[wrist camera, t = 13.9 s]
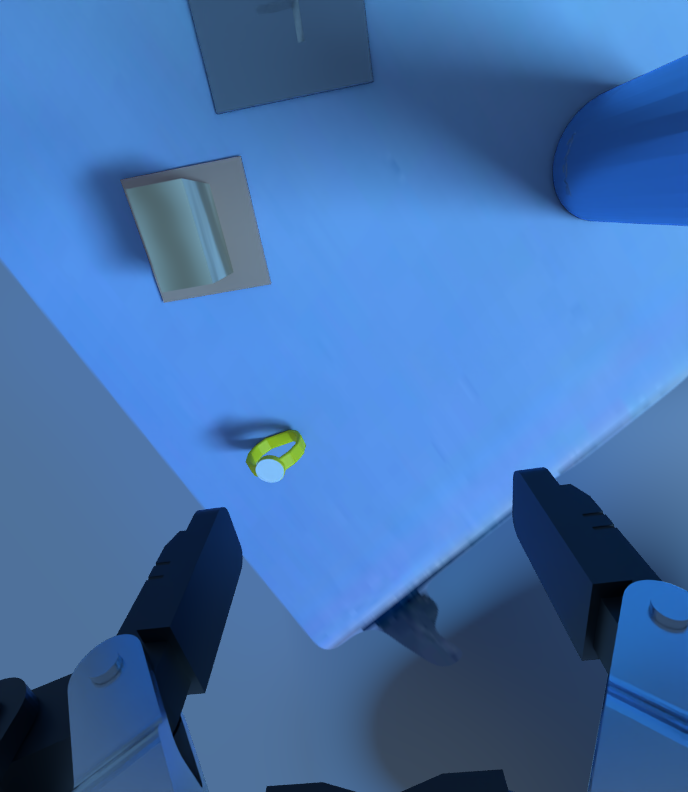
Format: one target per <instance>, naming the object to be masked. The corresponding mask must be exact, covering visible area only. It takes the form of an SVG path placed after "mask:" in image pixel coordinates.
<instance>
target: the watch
mask: <svg viewBox="0 0 688 792" xmlns="http://www.w3.org/2000/svg"><path fill="white" fill-rule="evenodd" d="M292 441H295V442H296V444H295V445H294V446H293V447H292V448H291V449H290V450H289V451H288V452H287V453H285V454H284V455H282V456H281V457H279V458H278V457H276V456H272V455H267V456H264V457H262V456H263V455H264V454H265V453H267V452H268V451H270V450H271V449H273V448H275V447H278V446H281V445H284V444H287V443H290V442H292ZM305 447H306V444H305V442H304V440H303V438H302V436H301V435H300V433H299V432H298V431H295V430H287V431H285V432H282V433H279V434H276V435H274V436H271V437H268V438H267V437H266V438H265V439H263V440H262V441H261V442H259V443H258V444H256V446H254V447H253V449H252V450H251V451H250V452H249V454H248V456H247V459H246V463H247V465H248V467H249V468H250V470H251V472H252V473H253V474H254V475H255V476H257V477H259V478H260V479H262V480H263V481H266V482H271V483H273V482H277V481H279V480H281V479H282V478H283V476H284V474H285V471H286V469H288V468H289V467H291V466H292V465H294V464H295V463H296V462H297V461H298V460H299V459H300V457H301V456H302V455H303V454H304V451H305ZM261 457H262V458H261ZM259 459H260V460H259ZM257 462H258V463H257ZM256 463H257V465H256Z"/></svg>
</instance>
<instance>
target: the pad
mask: <svg viewBox="0 0 688 792" xmlns="http://www.w3.org/2000/svg"><path fill="white" fill-rule="evenodd" d="M181 178H182V179H187V180H192V181H197V182H202V183H208V184H210V188H211V192H212V195H213V199H214V203H215V206H216V210H217V213H218V217H219V221H220V224H221V228H222V232H223V235H224V239H225V243H226V246H227V250H228V254H229V257H230V261H231V264H232V268H233V273H232V274H230V275H228V276H226V277H224V278H222V279H221V280H219V281H217V282H215V283H213V284H208V285H202V286H197V287H191V288H185V289H180V290H174V291H168V292H163V293H162V291H161V288H160V285H159V282H158V280H157V277H156V274H155V271H154V268H153V266H152V263H151V260H150V257H149V254H148V251H147V249H146V246H145V243H144V240H143V237H142V235H141V232H140V229H139V226H138V223H137V220H136V218H135V215H134V212H133V209H132V206H131V204H130V201H129V198H128V195H127V192H126V189H131V188H136V187H141V186H146V185H151V184H156V183H161V182H166V181H171V180H176V179H181ZM120 181H121V183H122V186H123V189H124V192H125V195H126V197H127V200H128V203H129V206H130V209H131V212H132V214H133V217H134V220H135V223H136V226H137V228H138V231H139V234H140V237H141V240H142V242H143V245H144V248H145V251H146V254H147V256H148V259H149V262H150V265H151V268H152V270H153V273H154V276H155V279H156V282H157V285H158V287H159V290H160V293H161V296H162V299H163V301H164V303H165V302H170V301H176V300H182V299H188V298H194V297H199V296H205V295H211V294H217V293H222V292H228V291H234V290H240V289H245V288H251V287H257V286H263V285H269V284H271V281H270V277H269V272H268V268H267V264H266V260H265V256H264V251H263V247H262V243H261V239H260V235H259V230H258V226H257V222H256V218H255V214H254V209H253V205H252V201H251V197H250V193H249V188H248V184H247V180H246V176H245V172H244V167H243V163H242V159H241V156H237V157H232V158H227V159H222V160H217V161H212V162H207V163H202V164H197V165H192V166H187V167H182V168H177V169H172V170H167V171H162V172H157V173H152V174H147V175H142V176H137V177H132V178H127V179H122V180H120Z"/></svg>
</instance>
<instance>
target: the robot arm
mask: <svg viewBox="0 0 688 792" xmlns="http://www.w3.org/2000/svg"><path fill="white" fill-rule="evenodd" d="M553 182H554V186H555V190H556V194H557V196H558V198H559V200H560V201H561V203H562V205H563V206H564V207H565V208H566V209H567V210H568V211H569V212H570V213H571V214H573V215H575V216H576V217H578V218H581V219H584V220H587V221H598V222H617V223H633V224H655V225H678V226H688V55H686V56H683V57H681V58H679V59H677V60H675V61H672V62H670V63H668V64H666V65H664V66H661V67H659V68H657V69H655V70H653V71H651V72H648V73H646V74H644V75H641V76H639V77H637V78H635V79H633V80H630V81H628V82H626V83H624V84H622V85H620V86H617V87H615V88H613V89H611V90H609V91H607V92H604V93H602V94H600V95H599V96H597V97H596V98H594V99H593V100H591V101H590V102H588V103H587V104H586V105H585V106H584V107H583V108H582V109H581V110H580V111H579V112H578V113H577V114H576V115H575V116H574V118H573V119H572V120H571V122H570V123H569V124H568V126H567V127H566V129H565V131H564V133H563V135H562V137H561V139H560V141H559V144H558V147H557V150H556V153H555V157H554V164H553ZM512 515H513V523H514V528H515V531H516V534H517V537H518V539H519V541H520V543H521V545H522V547H523V549H524V551H525V552H526V554H527V556H528V558H529V560H530V562H531V564H532V566H533V568H534V570H535V572H536V574H537V576H538V577H539V579H540V581H541V583H542V585H543V587H544V589H545V591H546V593H547V595H548V597H549V599H550V600H551V602H552V604H553V606H554V608H555V610H556V612H557V614H558V616H559V618H560V620H561V622H562V624H563V626H564V627H565V629H566V631H567V633H568V635H569V637H570V639H571V641H572V643H573V645H574V647H575V649H576V651H577V653H578V654H579V656H580V658H581V660H582V661H584V660H595V659H600V660H601V662H602V664H603V666H604V668H605V669H606V671H607V673H608V677H607V682H606V688H605V694H604V700H603V706H602V711H601V717H600V723H599V729H598V734H597V740H596V746H595V752H594V758H593V763H592V769H591V775H590V781H589V786H588V791H587V792H688V591H686V590H684V589H682V588H680V587H678V586H675V585H672V584H670V583H666V582H663V581H662V580H661V579H660V578H659V577H658V576H657V575H656V574H655V572H654V571H653V570H652V569H651V568H650V567H649V565H648V564H647V563H646V562H645V561H644V559H643V558H642V557H641V556H640V555H639V554H638V552H637V551H636V550H635V549H634V548H633V546H632V545H631V544H630V543H629V542H628V541H627V539H626V538H625V537H624V536H623V535H622V533H621V532H620V531H619V530H618V529H617V528H615V527H614V524H613V523H612V522H611V520H610V519H609V518H608V517H607V516H606V515H604V514H603V511H602V510H601V509H600V507H599V506H598V505H597V504H596V503H595V502H594V500H593V499H592V498H591V497H590V496H589V495H587V494H586V493H584V492H583V491H581V490H579V489H578V488H576V487H574V486H573V485H571V484H567V485H559V484H558V482H557V481H556V480H555V478H554V477H553V476H552V474H551V473H550V472H549V471H548V469H546V468H544V467H542V468H534V469H526V470H519V471H515V472H514V475H513V511H512ZM241 569H242V549H241V545H240V542H239V540H238V537H237V534H236V531H235V529H234V526H233V523H232V521H231V518H230V515H229V513H228V511H227V509H226V508H225V507H221V508H213V509H205V510H199V511H197V512H196V513H195V514H194V516H193V518H192V520H191V522H190V524H189V526H188V528H187V530H186V531H180V532H179V533H177V535H175V537H174V538H173V539H172V540H171V541H170V542H169V543H168V544H167V545H166V546H165V547H164V549H163V551H162V553H161V554H160V557H159V558H158V560H157V562H156V566H154V567H153V569H152V571H151V573H150V575H149V579H148V580H147V581H146V582H145V584H144V586H143V588H142V589H141V591H140V593H139V595H138V597H137V599H136V601H135V602H134V604H133V606H132V608H131V610H130V612H129V614H128V615H127V618H126V619H125V621H124V623H123V625H122V626H121V628H120V630H119V632H118V634H117V635H116V636H114V637H112V638H109V639H107V640H106V641H104V642H102V643H101V644H99V645H98V646H96V647H95V648H94V649H93V650H91V651H90V652H89V653H88V654H87V655H86V656H85V657H84V658H83V659H82V660H81V662H80V663H79V664H78V666H77V667H76V668H75V670H74V672H73V673H72V674H70V675H68V676H65V677H63V678H60V679H58V680H55V681H53V682H51V683H48V684H46V685H43V686H41V687H38V688H36V689H33V690H30V688H29V687H28V686H27V685H26V684H25V682H24V681H23V680H21V679H19V678H7V679H3V680H0V792H209V790H208V787H207V784H206V781H205V778H204V775H203V772H202V769H201V766H200V763H199V760H198V757H197V754H196V750H195V747H194V744H193V741H192V739H191V735H190V732H189V729H188V726H187V723H186V720H185V717H184V715H183V713H182V709H183V705H184V702H185V700H186V696H187V695H189V694H201V693H205V691H206V688H207V685H208V681H209V678H210V674H211V671H212V668H213V664H214V660H215V657H216V654H217V651H218V647H219V644H220V640H221V637H222V633H223V630H224V627H225V623H226V620H227V617H228V613H229V610H230V606H231V603H232V600H233V596H234V593H235V589H236V586H237V583H238V579H239V576H240V572H241ZM266 792H355V791H351V790H347V789H344V788H341V787H337V786H333V785H330V784H327V783H323V782H320V783H306V784H294V785H278V786H267V788H266ZM402 792H513V791H510V790H508V787H507V784H506V781H505V777H504V773H503V770H488V771H474V772H460V773H447V774H441V775H439V776H436V777H434V778H432V779H429V780H427V781H425V782H423V783H420V784H418V785H416V786H413V787H411V788H409V789H407V790H404V791H402Z"/></svg>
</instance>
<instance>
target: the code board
mask: <svg viewBox="0 0 688 792" xmlns="http://www.w3.org/2000/svg"><path fill="white" fill-rule="evenodd" d="M188 1H189V5H190V9H191V13H192V17H193V21H194V25H195V29H196V33H197V36H198V40H199V44H200V48H201V52H202V56H203V60H204V64H205V68H206V72H207V76H208V80H209V84H210V88H211V92H212V96H213V100H214V104H215V108H216V112H217V114H221V113H226V112H230V111H235V110H240V109H245V108H250V107H255V106H259V105H264V104H269V103H274V102H279V101H283V100H288V99H293V98H298V97H303V96H308V95H312V94H317V93H322V92H327V91H332V90H336V89H341V88H346V87H351V86H356V85H361V84H365V83H370V82H373V77H372V68H371V58H370V49H369V40H368V31H367V22H366V13H365V4H364V0H188Z"/></svg>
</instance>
